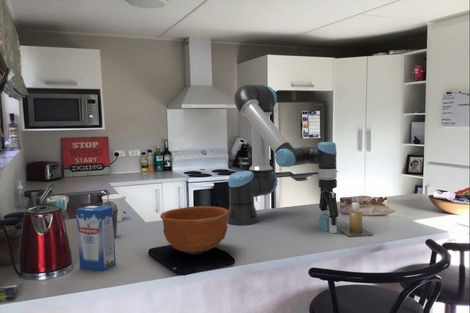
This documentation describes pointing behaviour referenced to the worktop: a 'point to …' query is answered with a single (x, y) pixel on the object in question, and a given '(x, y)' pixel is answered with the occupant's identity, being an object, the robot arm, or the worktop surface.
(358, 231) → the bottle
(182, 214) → the bowl
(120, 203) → the cup
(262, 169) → the robot arm
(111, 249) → the milk carton
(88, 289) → the worktop surface
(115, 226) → the grey bottle
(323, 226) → the cap
